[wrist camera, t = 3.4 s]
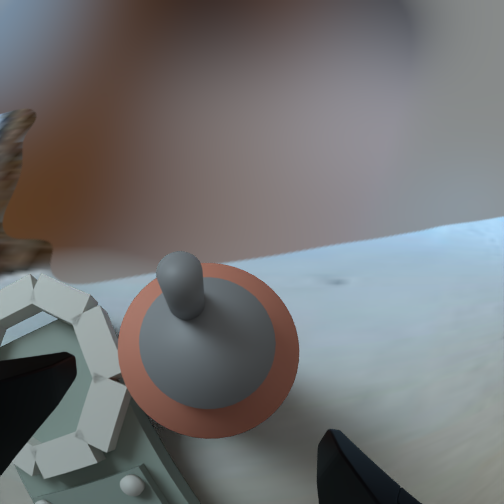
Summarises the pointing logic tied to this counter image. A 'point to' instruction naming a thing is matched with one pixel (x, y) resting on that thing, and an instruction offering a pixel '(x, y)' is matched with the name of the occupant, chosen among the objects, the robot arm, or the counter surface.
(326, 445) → the robot arm
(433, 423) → the counter surface
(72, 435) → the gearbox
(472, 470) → the counter surface
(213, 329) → the oil can
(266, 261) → the counter surface
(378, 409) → the counter surface
